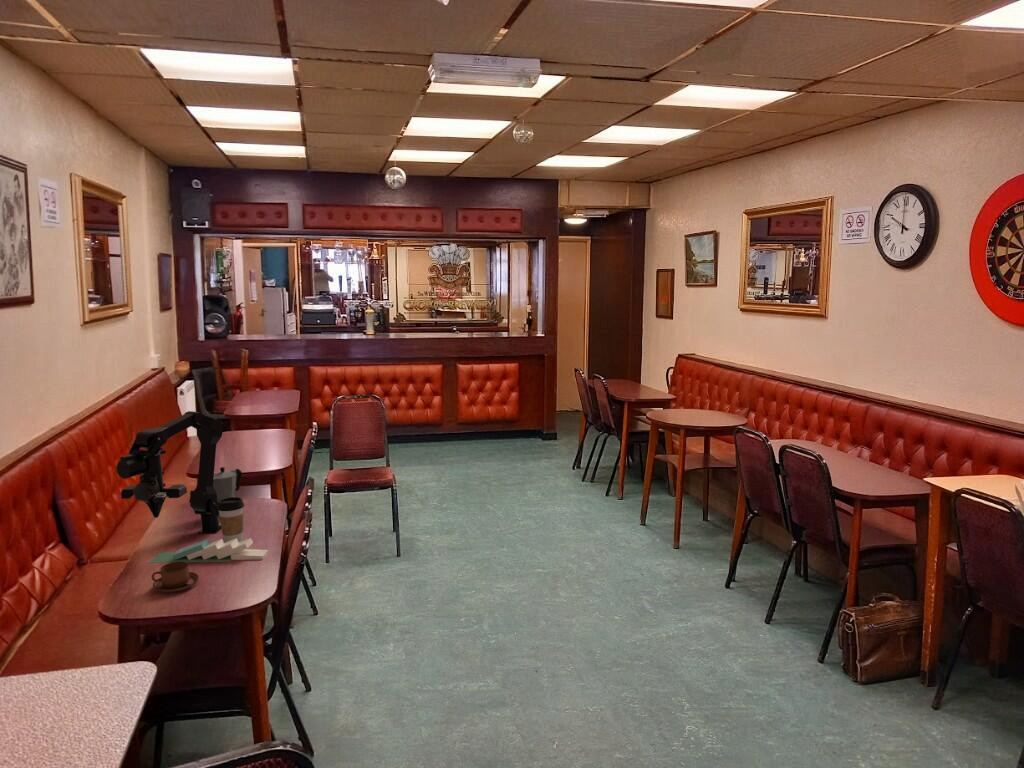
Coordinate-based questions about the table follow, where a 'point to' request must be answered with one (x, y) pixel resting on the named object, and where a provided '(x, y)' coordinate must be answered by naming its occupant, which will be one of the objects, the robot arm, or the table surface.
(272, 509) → the table surface
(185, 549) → the domino
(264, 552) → the domino
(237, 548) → the domino
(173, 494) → the robot arm
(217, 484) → the coffeepot
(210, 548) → the domino
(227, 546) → the domino
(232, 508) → the coffee cup
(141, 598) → the table surface
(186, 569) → the cup and saucer
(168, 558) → the baize strip
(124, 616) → the table surface
